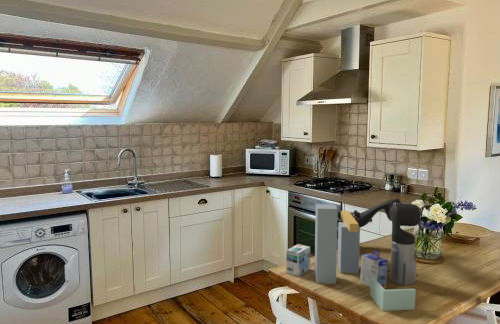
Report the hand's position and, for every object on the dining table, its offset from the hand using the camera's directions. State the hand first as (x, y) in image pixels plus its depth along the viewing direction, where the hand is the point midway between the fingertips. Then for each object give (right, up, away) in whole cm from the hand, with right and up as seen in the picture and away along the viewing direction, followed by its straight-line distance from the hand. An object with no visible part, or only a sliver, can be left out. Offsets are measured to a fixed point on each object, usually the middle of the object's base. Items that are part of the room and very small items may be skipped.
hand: (346, 212), depth 184 cm
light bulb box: (-23, -26, -4) cm, 35 cm away
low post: (0, -26, -3) cm, 26 cm away
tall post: (-13, -27, -13) cm, 33 cm away
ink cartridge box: (+6, -28, -19) cm, 35 cm away
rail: (0, -5, -5) cm, 7 cm away
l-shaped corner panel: (+9, -30, -34) cm, 46 cm away
